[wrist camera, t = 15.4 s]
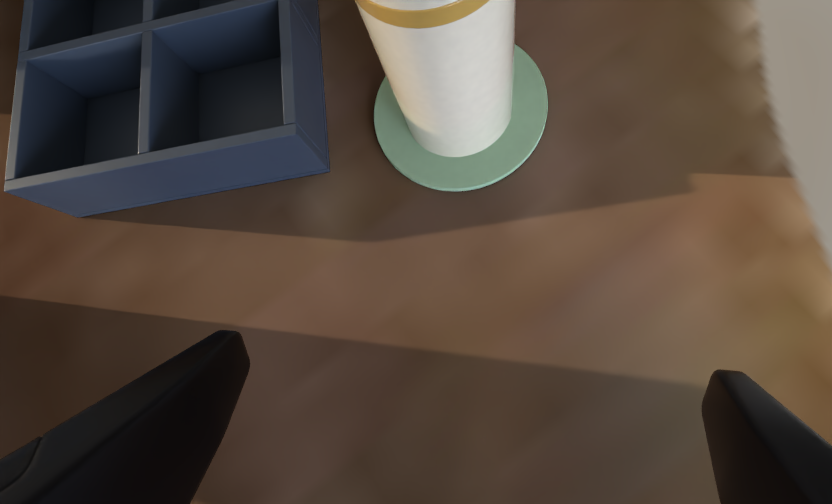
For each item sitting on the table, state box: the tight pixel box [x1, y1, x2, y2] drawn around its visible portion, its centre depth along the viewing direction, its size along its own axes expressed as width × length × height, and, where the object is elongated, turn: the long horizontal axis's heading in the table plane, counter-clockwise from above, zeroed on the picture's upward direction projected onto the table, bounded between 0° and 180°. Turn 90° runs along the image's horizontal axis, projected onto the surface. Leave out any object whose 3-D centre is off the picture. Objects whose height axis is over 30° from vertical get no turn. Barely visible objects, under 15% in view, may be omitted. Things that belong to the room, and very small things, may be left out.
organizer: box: [4, 0, 330, 217], centre depth 27 cm, size 15×15×4 cm
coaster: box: [374, 45, 548, 191], centre depth 25 cm, size 9×9×1 cm
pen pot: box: [355, 0, 516, 157], centre depth 19 cm, size 6×6×12 cm
